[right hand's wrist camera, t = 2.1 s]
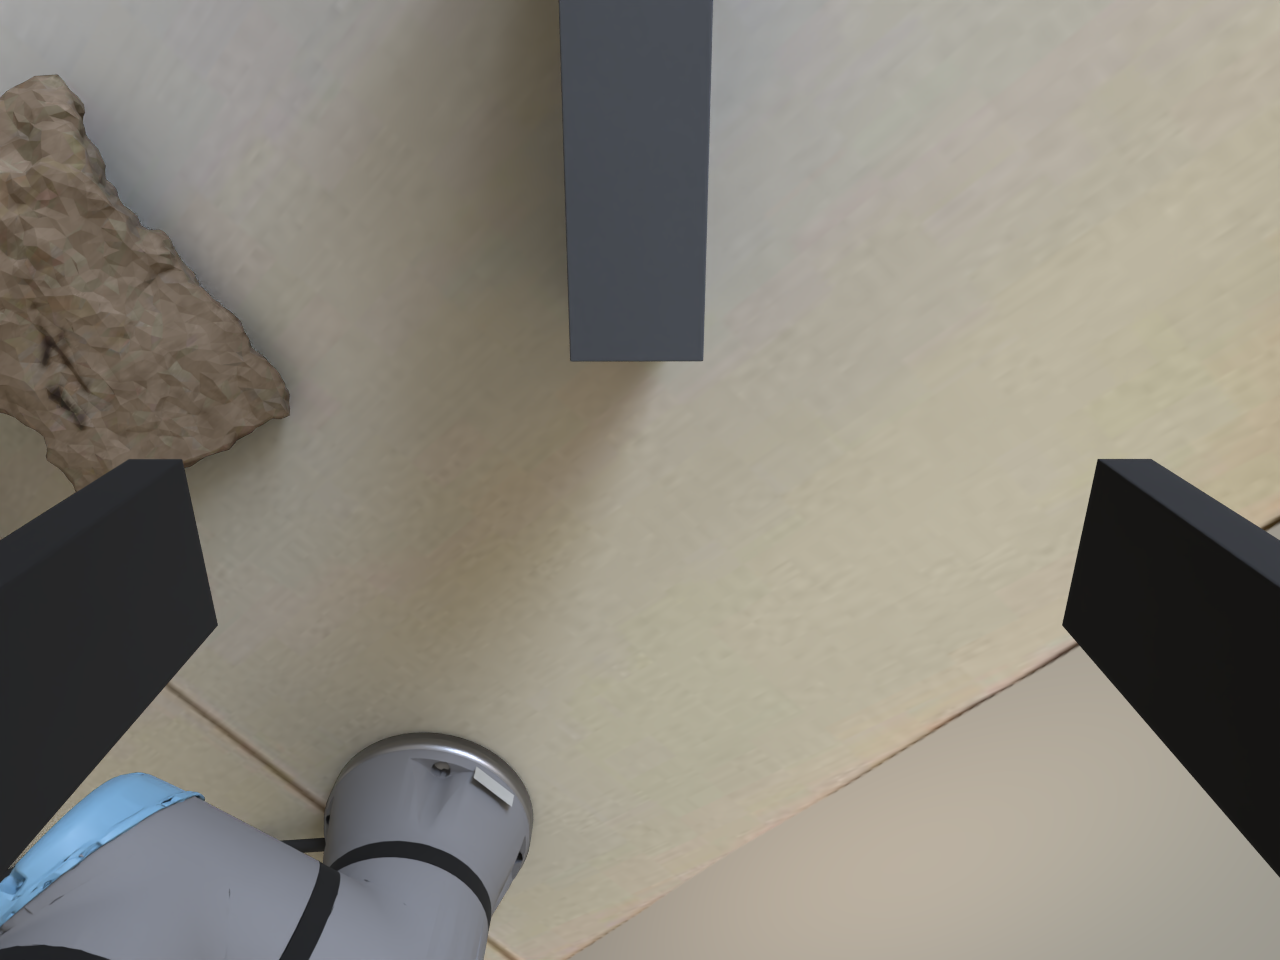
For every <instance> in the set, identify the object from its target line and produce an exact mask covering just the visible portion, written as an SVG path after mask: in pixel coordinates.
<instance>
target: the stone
mask: <svg viewBox="0 0 1280 960" xmlns="http://www.w3.org/2000/svg"><path fill="white" fill-rule="evenodd" d="M84 113H85V110H84V104H83V103H82V102H81V100H80V99H79V98H78V97H77V96H76V95H75V94H74V93H73V92H72V91H71V90H70V89H69V88H68V86H67V85H66V84H65V82H64V81H63V80H62V79H61V78H60V77H59V76H58V75H44V76H34V77H32V78H31V79H29V80H27V81H25V82H23V83H21V84H19V85H17V86H15V87H13V88H11V89H10V90H8V91H6V92H5V93H4V94H3V95H2V97H1V98H0V413H4V414H8V415H10V416H13V417H15V418H16V419H18V420H19V421H20V422H22V423H23V424H24V425H26V426H28V427H30V428H32V429H34V430H36V431H37V432H39V433H40V434H41V435H42V436H44V439H45V442H46V445H47V454H46V458H47V461H49V462H50V463H52V464H53V465H55V466H56V467H58V468H59V469H60V470H61V471H62V472H63V473H64V474H65V475H66V476H67V478H68V479H69V480H70V481H71V483H72V484H73V486H74V488H75V491H76V492H78V491H79V490H81V489H82V488H84V487H85V486H87V485H89V484H90V483H92V482H93V481H95V480H97V479H98V478H100V477H101V476H103V475H104V474H106V473H108V472H109V471H111V470H112V469H114V468H116V467H117V466H119V465H120V464H122V463H123V462H125V461H127V460H128V459H182V460H183V465H184V468H186V467H190V466H192V465H194V464H195V463H196V462H198V461H199V460H201V459H203V458H204V457H206V456H209V455H212V454H215V453H218V452H222V451H225V450H229V449H230V448H231V447H232V446H233V444H234V443H235V442H236V441H237V440H238V439H240V438H242V437H244V436H246V435H248V434H250V433H252V431H253V430H254V429H255V428H257V427H259V426H261V425H263V424H264V423H266V422H267V421H269V420H270V419H272V418H273V419H282V418H285V417H287V416H289V415H290V406H289V395H290V394H289V391H288V390H287V389H286V388H285V383H284V381H283V380H282V378H281V376H280V374H279V373H278V371H277V370H276V369H275V368H274V367H273V366H272V365H271V364H270V363H269V362H268V361H267V359H266V358H264V357H263V356H262V355H261V354H260V353H258V352H257V351H255V350H254V349H253V348H252V347H251V346H250V341H249V338H248V337H247V335H246V334H245V332H244V329H243V327H242V324H241V321H240V320H239V319H238V318H237V317H236V316H235V315H233V314H232V313H231V312H230V311H229V310H227V309H225V308H224V307H222V306H221V304H220V303H219V302H217V301H215V300H214V299H213V298H212V297H211V296H210V295H209V294H208V293H207V292H206V291H205V290H204V289H203V288H202V287H200V285H199V283H198V281H197V279H196V277H195V274H194V272H193V271H191V270H190V269H189V268H188V267H187V266H186V265H185V264H184V263H183V262H182V260H181V259H180V257H179V255H178V254H177V252H176V251H175V249H174V246H173V244H172V242H171V240H170V238H169V237H168V236H167V235H166V234H165V232H163V231H161V230H148V229H146V228H145V227H143V226H141V224H140V222H139V220H138V217H137V216H136V215H135V214H134V213H133V212H132V211H131V210H129V209H128V208H126V207H124V206H123V204H122V203H121V201H120V199H119V197H118V194H117V190H116V188H115V187H114V186H113V185H112V184H111V183H110V182H109V181H107V180H106V176H105V164H104V161H103V159H102V157H101V155H100V152H99V150H98V149H97V148H96V146H95V145H94V144H93V143H92V142H91V141H90V140H89V139H88V137H87V136H86V133H85V128H84V125H83V115H84Z"/></svg>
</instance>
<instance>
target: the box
mask: <svg viewBox="0 0 1280 960" xmlns="http://www.w3.org/2000/svg"><path fill="white" fill-rule="evenodd" d="M712 17H713V0H559V23H560V54H561V86H562V117H563V148H564V179H565V211H566V242H567V273H568V304H569V336H570V361H703V349H704V312H705V275H706V238H707V201H708V165H709V128H710V91H711V54H712Z"/></svg>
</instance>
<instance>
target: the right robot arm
mask: <svg viewBox="0 0 1280 960" xmlns="http://www.w3.org/2000/svg"><path fill="white" fill-rule="evenodd" d="M217 626H218V624H217V619H216V615H215V610H214V605H213V601H212V596H211V591H210V587H209V582H208V577H207V573H206V568H205V563H204V559H203V554H202V549H201V545H200V540H199V535H198V531H197V526H196V521H195V517H194V512H193V507H192V503H191V498H190V493H189V489H188V484H187V479H186V474H185V470H184V465H183V460H182V459H128V460H127V461H125V462H123V463H122V464H120V465H119V466H117V467H116V468H114V469H112V470H111V471H109V472H108V473H106V474H104V475H103V476H101V477H100V478H98V479H97V480H95V481H93V482H92V483H90V484H89V485H87V486H85V487H84V488H82V489H81V490H79V491H78V492H76V493H74V494H73V495H71V496H70V497H68V498H66V499H65V500H63V501H62V502H60V503H59V504H57V505H55V506H54V507H52V508H51V509H49V510H48V511H46V512H44V513H43V514H41V515H40V516H38V517H36V518H35V519H33V520H32V521H30V522H29V523H27V524H25V525H24V526H22V527H21V528H19V529H17V530H16V531H14V532H13V533H11V534H10V535H8V536H6V537H5V538H3V539H2V540H0V960H484V954H485V948H486V943H487V937H488V931H489V926H490V921H491V916H492V915H493V913H494V911H495V910H496V908H497V907H498V905H499V903H500V902H501V900H502V898H503V897H504V895H505V893H506V892H507V890H508V888H509V887H510V885H511V883H512V881H513V879H514V878H515V877H516V875H517V873H518V872H519V870H520V869H521V867H522V865H523V863H524V861H525V859H526V857H527V854H528V851H529V846H530V840H531V834H532V827H533V809H532V804H531V800H530V797H529V794H528V792H527V790H526V788H525V786H524V784H523V782H522V781H521V779H520V778H519V777H518V775H517V774H516V773H515V772H514V770H513V769H512V768H511V767H510V766H509V765H508V764H507V763H506V762H505V761H503V760H502V759H501V758H499V757H498V756H497V755H495V754H494V753H492V752H491V751H489V750H488V749H486V748H484V747H482V746H480V745H478V744H475V743H473V742H471V741H468V740H465V739H462V738H459V737H455V736H451V735H445V734H438V733H409V734H403V735H397V736H393V737H390V738H387V739H384V740H381V741H379V742H376V743H374V744H372V745H370V746H368V747H367V748H365V749H364V750H362V751H361V752H359V753H358V754H357V755H356V756H354V757H353V758H352V759H351V760H350V761H349V762H348V764H347V765H346V766H345V767H344V769H343V770H342V772H341V773H340V775H339V777H338V779H337V781H336V783H335V785H334V787H333V789H332V791H331V794H330V796H329V798H328V801H327V804H326V808H325V814H324V837H325V838H314V839H300V840H283V841H279V840H277V839H276V838H274V837H272V836H270V835H268V834H266V833H264V832H262V831H260V830H258V829H256V828H254V827H253V826H251V825H249V824H247V823H245V822H243V821H241V820H239V819H237V818H235V817H233V816H232V815H230V814H228V813H226V812H224V811H222V810H220V809H218V808H216V807H214V806H212V805H211V804H209V803H207V802H205V797H204V796H203V795H202V794H200V793H198V792H192V791H184V790H182V789H180V788H178V787H176V786H174V785H171V784H169V783H167V782H165V781H163V780H161V779H159V778H157V777H154V776H152V775H150V774H146V773H138V772H137V773H130V774H124V775H120V776H118V777H114V778H112V779H110V780H108V781H107V782H105V783H104V784H102V785H101V786H99V787H98V788H96V789H95V790H93V791H92V792H91V793H90V794H88V795H87V796H86V797H85V798H84V799H82V800H81V801H80V802H79V803H78V804H77V805H75V806H74V807H73V808H72V809H71V810H70V811H69V812H68V813H67V814H65V815H64V816H63V817H62V818H61V819H60V820H59V821H58V822H57V823H56V824H55V825H54V826H53V827H52V828H51V829H50V830H49V831H48V832H47V833H46V834H45V835H44V836H43V837H42V838H41V839H40V840H39V841H38V842H37V843H36V844H35V845H34V846H33V847H32V848H31V849H30V850H29V851H28V852H27V853H26V854H25V855H24V856H23V857H22V858H21V859H20V861H19V862H18V863H17V864H16V865H15V866H14V868H10V869H8V868H9V867H10V866H11V864H12V863H13V862H14V861H15V860H16V859H17V857H18V856H19V855H20V854H21V853H22V852H23V850H24V849H25V848H26V847H27V846H28V845H29V844H30V842H31V841H32V840H33V839H34V838H35V837H36V835H37V834H38V833H39V832H40V831H41V830H42V828H43V827H44V826H45V825H46V824H47V823H48V821H49V820H50V819H51V818H52V817H53V816H54V815H55V813H56V812H57V811H58V810H59V809H60V808H61V806H62V805H63V804H64V803H65V802H66V801H67V799H68V798H69V797H70V796H71V795H72V794H73V792H74V791H75V790H76V789H77V788H78V787H79V786H80V784H81V783H82V782H83V781H84V780H85V779H86V777H87V776H88V775H89V774H90V773H91V772H92V770H93V769H94V768H95V767H96V766H97V765H98V764H99V762H100V761H101V760H102V759H103V758H104V757H105V755H106V754H107V753H108V752H109V751H110V750H111V748H112V747H113V746H114V745H115V744H116V743H117V741H118V740H119V739H120V738H121V737H122V736H123V735H124V733H125V732H126V731H127V730H128V729H129V728H130V726H131V725H132V724H133V723H134V722H135V721H136V719H137V718H138V717H139V716H140V715H141V714H142V713H143V711H144V710H145V709H146V708H147V707H148V706H149V704H150V703H151V702H152V701H153V700H154V699H155V697H156V696H157V695H158V694H159V693H160V692H161V690H162V689H163V688H164V687H165V686H166V685H167V684H168V682H169V681H170V680H171V679H172V678H173V677H174V675H175V674H176V673H177V672H178V671H179V670H180V668H181V667H182V666H183V665H184V664H185V663H186V661H187V660H188V659H189V658H190V657H191V656H192V655H193V653H194V652H195V651H196V650H197V649H198V648H199V646H200V645H201V644H202V643H203V642H204V641H205V639H206V638H207V637H208V636H209V635H210V634H211V633H212V631H213V630H214V629H215V628H216V627H217ZM1062 626H1063V627H1064V628H1065V629H1066V630H1067V631H1068V633H1069V634H1070V635H1071V636H1072V637H1073V638H1074V639H1075V641H1076V642H1077V643H1078V644H1079V645H1080V646H1081V648H1082V649H1083V650H1084V651H1085V652H1086V653H1087V655H1088V656H1089V657H1090V658H1091V659H1092V660H1093V661H1094V663H1095V664H1096V665H1097V666H1098V667H1099V668H1100V670H1101V671H1102V672H1103V673H1104V674H1105V675H1106V677H1107V678H1108V679H1109V680H1110V681H1111V682H1112V684H1113V685H1114V686H1115V687H1116V688H1117V689H1118V690H1119V692H1120V693H1121V694H1122V695H1123V696H1124V697H1125V699H1126V700H1127V701H1128V702H1129V703H1130V704H1131V706H1132V707H1133V708H1134V709H1135V710H1136V711H1137V713H1138V714H1139V715H1140V716H1141V717H1142V718H1143V719H1144V721H1145V722H1146V723H1147V724H1148V725H1149V726H1150V728H1151V729H1152V730H1153V731H1154V732H1155V733H1156V735H1157V736H1158V737H1159V738H1160V739H1161V740H1162V741H1163V743H1164V744H1165V745H1166V746H1167V747H1168V748H1169V750H1170V751H1171V752H1172V753H1173V754H1174V755H1175V756H1176V758H1177V759H1178V760H1179V761H1180V762H1181V764H1182V765H1183V766H1184V767H1185V768H1186V769H1187V770H1188V772H1189V773H1190V774H1191V775H1192V776H1193V777H1194V779H1195V780H1196V781H1197V782H1198V783H1199V784H1200V785H1201V787H1202V788H1203V789H1204V790H1205V791H1206V792H1207V794H1208V795H1209V796H1210V797H1211V798H1212V799H1213V801H1214V802H1215V803H1216V804H1217V805H1218V806H1219V808H1220V809H1221V810H1222V811H1223V812H1224V813H1225V815H1226V816H1227V817H1228V818H1229V819H1230V820H1231V821H1232V823H1233V824H1234V825H1235V826H1236V827H1237V828H1238V830H1239V831H1240V832H1241V833H1242V834H1243V835H1244V837H1245V838H1246V839H1247V840H1248V841H1249V842H1250V843H1251V845H1252V846H1253V847H1254V848H1255V849H1256V850H1257V852H1258V853H1259V854H1260V855H1261V856H1262V857H1263V859H1264V860H1265V861H1266V862H1267V863H1268V864H1269V865H1270V867H1271V868H1272V869H1273V870H1274V871H1275V872H1276V874H1277V875H1278V876H1279V877H1280V540H1278V539H1277V538H1275V537H1274V536H1272V535H1270V534H1269V533H1267V532H1266V531H1264V530H1263V529H1261V528H1259V527H1258V526H1256V525H1255V524H1253V523H1251V522H1250V521H1248V520H1247V519H1245V518H1244V517H1242V516H1240V515H1239V514H1237V513H1236V512H1234V511H1232V510H1231V509H1229V508H1228V507H1226V506H1225V505H1223V504H1221V503H1220V502H1218V501H1217V500H1215V499H1214V498H1212V497H1210V496H1209V495H1207V494H1206V493H1204V492H1202V491H1201V490H1199V489H1198V488H1196V487H1195V486H1193V485H1191V484H1190V483H1188V482H1187V481H1185V480H1183V479H1182V478H1180V477H1179V476H1177V475H1176V474H1174V473H1172V472H1171V471H1169V470H1168V469H1166V468H1164V467H1163V466H1161V465H1160V464H1158V463H1157V462H1155V461H1153V460H1152V459H1098V460H1097V465H1096V470H1095V474H1094V479H1093V484H1092V489H1091V493H1090V498H1089V503H1088V507H1087V512H1086V517H1085V521H1084V526H1083V531H1082V535H1081V540H1080V545H1079V549H1078V554H1077V559H1076V563H1075V568H1074V573H1073V577H1072V582H1071V587H1070V591H1069V596H1068V601H1067V605H1066V610H1065V615H1064V619H1063V624H1062ZM321 851H324V856H323V863H321V862H320V861H318V860H316V859H314V858H312V857H310V856H308V855H306V854H304V853H306V852H321Z"/></svg>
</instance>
